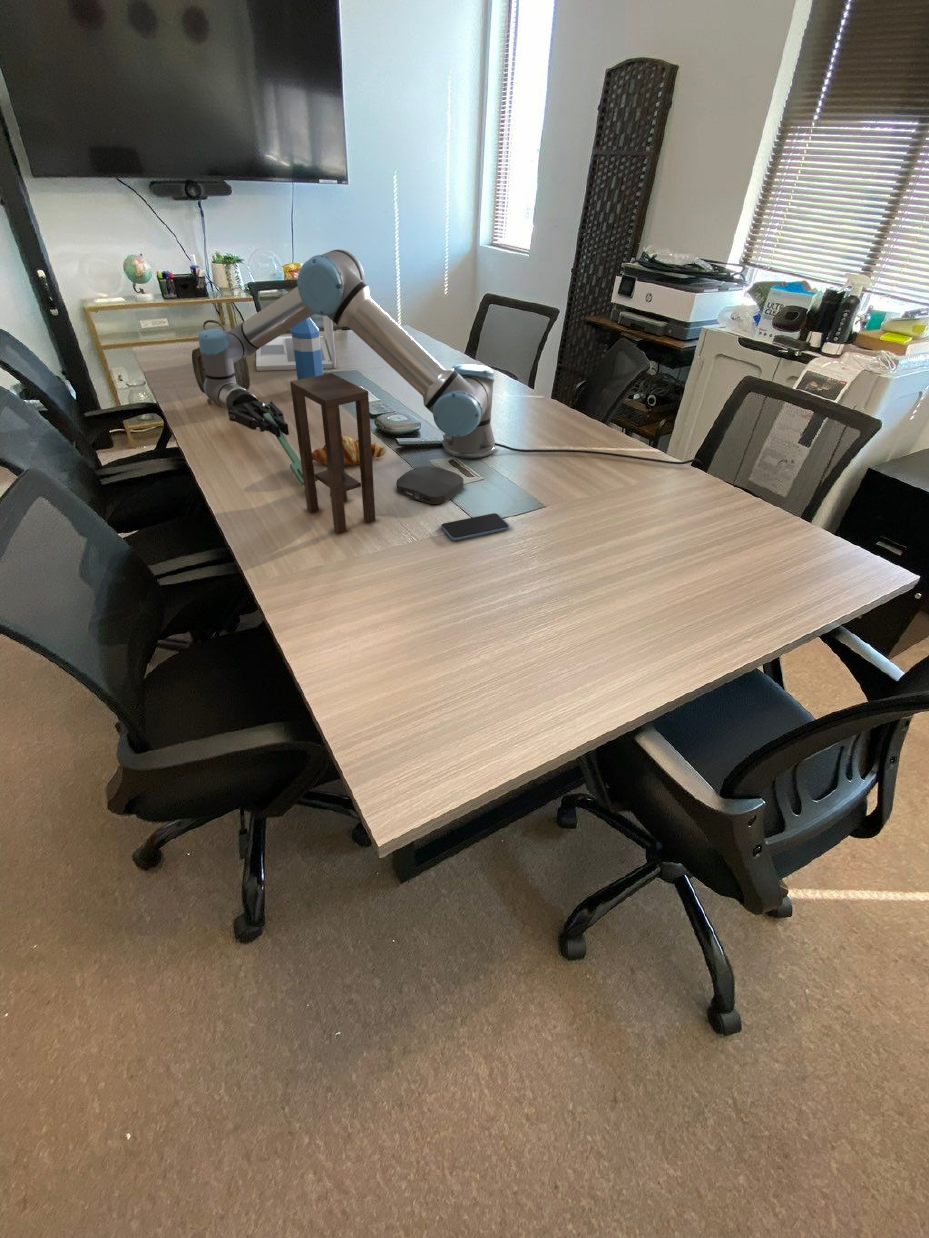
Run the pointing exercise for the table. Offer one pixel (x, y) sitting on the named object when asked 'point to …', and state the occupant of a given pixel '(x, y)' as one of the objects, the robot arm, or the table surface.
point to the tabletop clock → (239, 366)
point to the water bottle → (307, 349)
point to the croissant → (348, 452)
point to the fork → (290, 454)
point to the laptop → (282, 352)
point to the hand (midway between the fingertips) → (282, 430)
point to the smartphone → (474, 526)
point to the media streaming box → (430, 484)
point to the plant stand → (334, 443)
